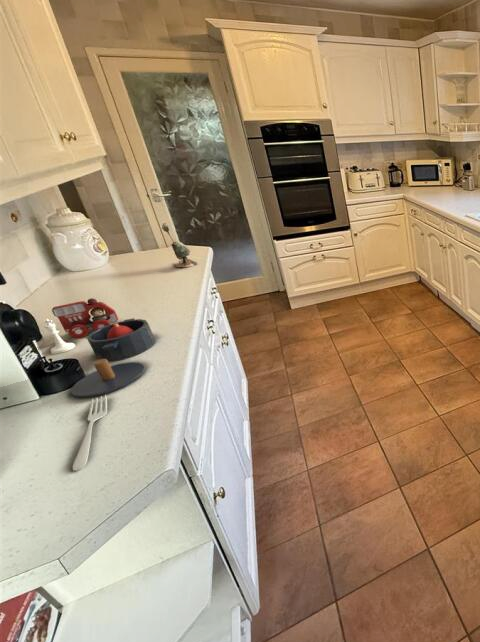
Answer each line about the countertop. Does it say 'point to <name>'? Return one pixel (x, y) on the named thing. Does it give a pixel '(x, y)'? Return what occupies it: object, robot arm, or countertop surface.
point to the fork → (89, 435)
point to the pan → (122, 341)
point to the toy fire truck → (84, 317)
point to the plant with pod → (180, 251)
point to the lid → (107, 378)
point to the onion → (118, 331)
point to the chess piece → (57, 339)
